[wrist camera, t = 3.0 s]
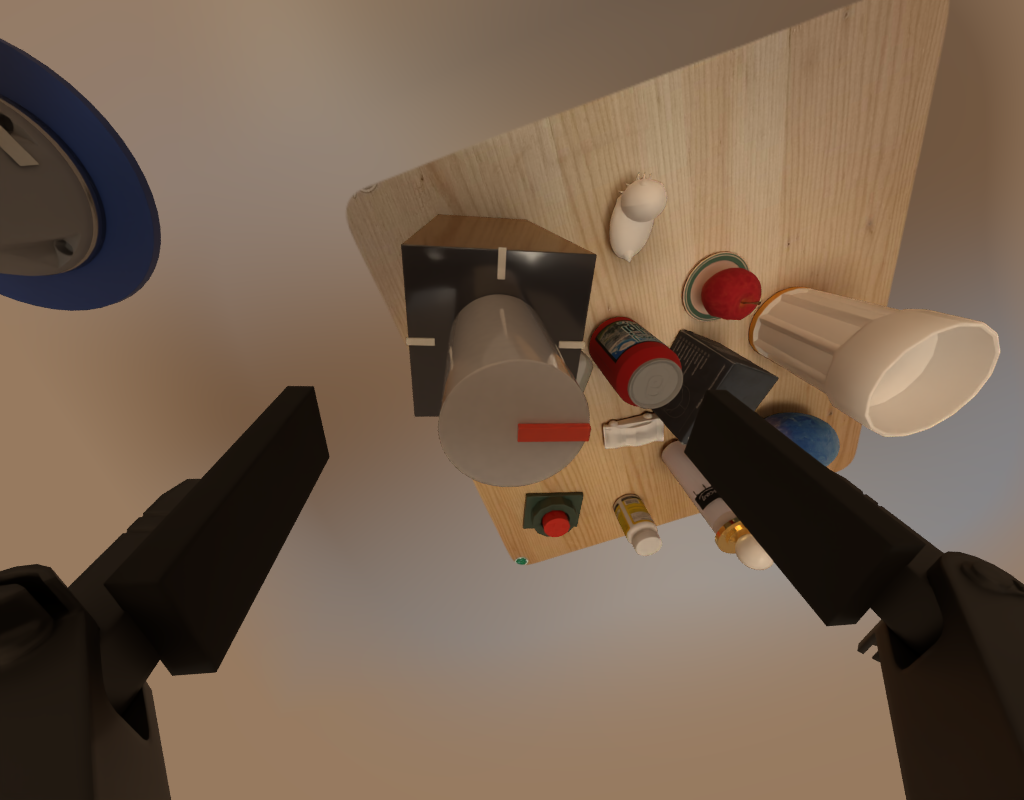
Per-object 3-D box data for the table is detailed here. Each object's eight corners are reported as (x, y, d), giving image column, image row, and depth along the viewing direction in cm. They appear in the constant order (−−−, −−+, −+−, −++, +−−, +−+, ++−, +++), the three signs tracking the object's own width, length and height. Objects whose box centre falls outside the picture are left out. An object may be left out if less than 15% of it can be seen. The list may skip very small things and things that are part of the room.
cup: (733, 369, 50) (847, 447, 35) (748, 285, 44) (893, 334, 29) (814, 355, 50) (962, 426, 35) (839, 269, 44) (1030, 310, 29)
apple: (752, 298, 45) (793, 314, 39) (690, 331, 46) (721, 351, 41) (739, 237, 41) (782, 244, 36) (672, 275, 43) (704, 288, 37)
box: (678, 410, 52) (723, 456, 43) (639, 398, 51) (676, 444, 42) (722, 342, 48) (782, 378, 39) (680, 327, 46) (733, 360, 37)
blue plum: (777, 454, 44) (875, 457, 47) (746, 396, 49) (836, 403, 52) (729, 483, 51) (818, 485, 54) (706, 430, 56) (788, 434, 59)
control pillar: (440, 304, 42) (412, 420, 21) (437, 212, 37) (397, 242, 16) (521, 307, 43) (572, 419, 22) (527, 218, 38) (600, 252, 17)
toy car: (656, 434, 54) (663, 444, 52) (603, 447, 54) (608, 456, 52) (656, 408, 52) (664, 416, 50) (600, 421, 52) (606, 430, 50)
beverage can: (645, 314, 45) (698, 352, 34) (634, 365, 48) (680, 414, 38) (590, 314, 44) (629, 353, 34) (583, 366, 47) (616, 416, 37)
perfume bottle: (697, 453, 57) (798, 568, 39) (662, 470, 58) (745, 590, 40) (686, 427, 54) (789, 539, 37) (650, 446, 55) (733, 563, 38)
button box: (522, 525, 60) (524, 537, 58) (526, 493, 57) (528, 505, 55) (576, 523, 62) (579, 535, 59) (582, 491, 58) (586, 503, 56)
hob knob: (449, 385, 20) (439, 495, 13) (447, 292, 18) (433, 362, 10) (540, 386, 21) (580, 491, 13) (550, 295, 18) (605, 365, 11)
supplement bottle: (624, 518, 62) (644, 562, 55) (606, 506, 60) (626, 549, 53) (646, 502, 61) (671, 544, 54) (629, 488, 59) (652, 530, 52)
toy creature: (655, 175, 37) (687, 172, 32) (636, 258, 41) (662, 269, 36) (612, 171, 37) (637, 167, 31) (597, 256, 41) (617, 266, 35)
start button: (540, 528, 58) (542, 537, 57) (543, 510, 56) (545, 519, 55) (565, 527, 59) (568, 536, 57) (568, 509, 57) (571, 518, 55)
